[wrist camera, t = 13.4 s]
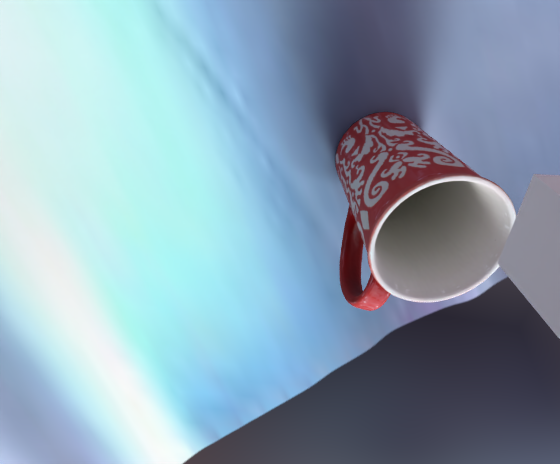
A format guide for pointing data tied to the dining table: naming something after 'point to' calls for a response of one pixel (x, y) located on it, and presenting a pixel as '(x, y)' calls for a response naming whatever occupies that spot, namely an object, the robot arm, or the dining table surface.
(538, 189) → the robot arm
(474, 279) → the mug
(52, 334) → the dining table surface
